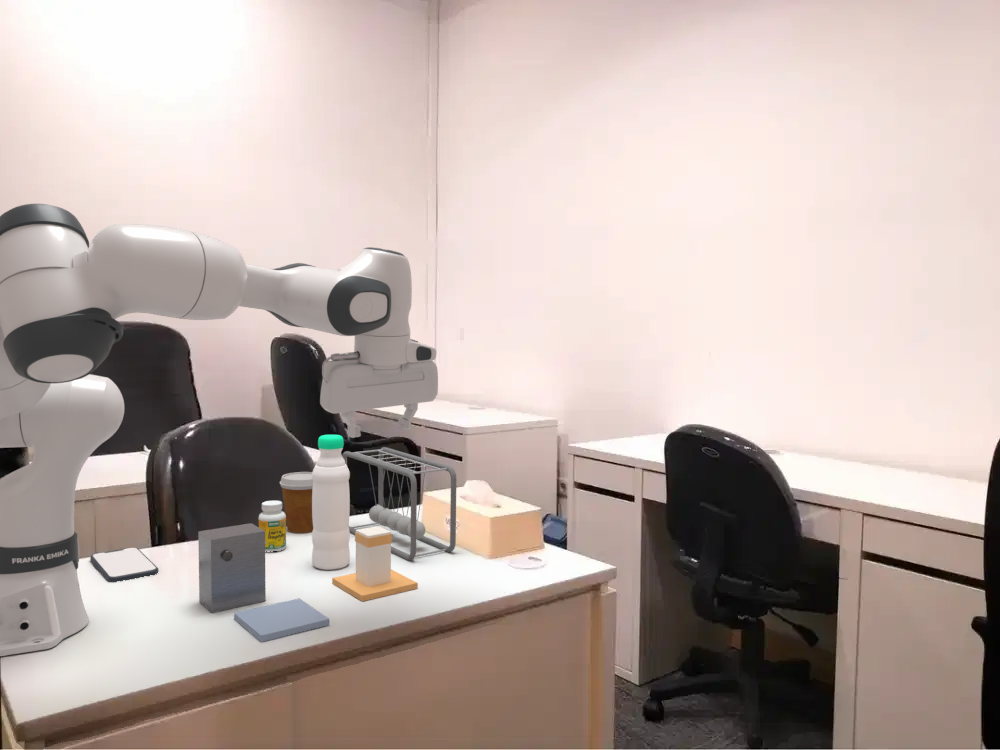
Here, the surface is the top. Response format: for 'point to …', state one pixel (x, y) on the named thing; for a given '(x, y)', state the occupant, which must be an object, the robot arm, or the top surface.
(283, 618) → the blue pad
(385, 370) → the robot arm
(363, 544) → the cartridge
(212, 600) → the control box
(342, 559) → the water bottle
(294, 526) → the disposable coffee cup
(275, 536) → the supplement bottle
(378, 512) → the newton's cradle
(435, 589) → the top surface
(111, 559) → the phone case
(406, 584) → the orange pad
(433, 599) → the top surface
